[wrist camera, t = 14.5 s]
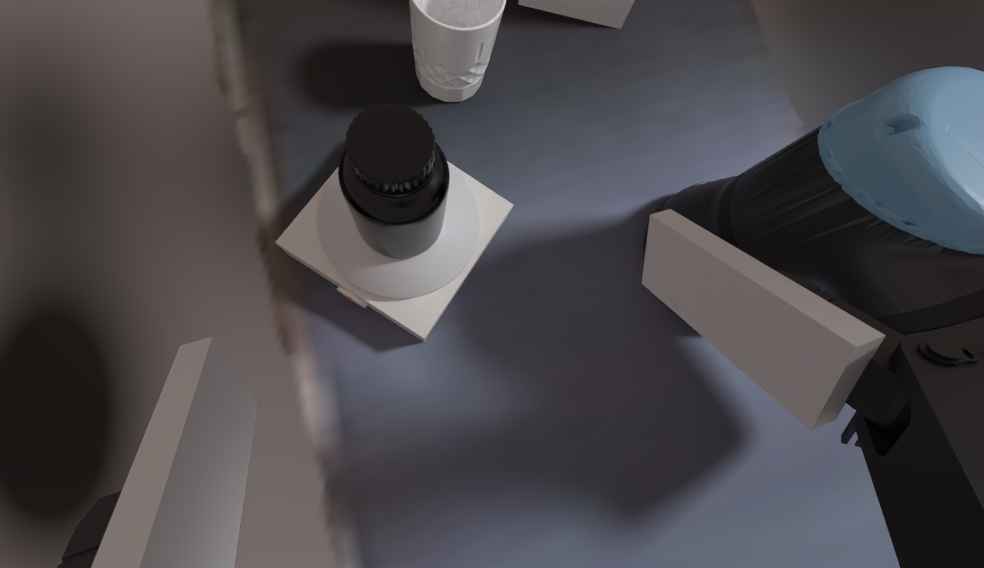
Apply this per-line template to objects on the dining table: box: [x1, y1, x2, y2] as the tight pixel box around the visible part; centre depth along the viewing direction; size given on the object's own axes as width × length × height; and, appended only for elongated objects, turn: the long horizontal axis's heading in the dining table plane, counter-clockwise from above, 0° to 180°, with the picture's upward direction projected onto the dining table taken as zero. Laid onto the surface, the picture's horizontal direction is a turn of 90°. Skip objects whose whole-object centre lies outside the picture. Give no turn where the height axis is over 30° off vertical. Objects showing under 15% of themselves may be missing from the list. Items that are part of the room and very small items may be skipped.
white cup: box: [409, 0, 506, 102], centre depth 38 cm, size 8×8×10 cm
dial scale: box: [275, 161, 513, 342], centre depth 36 cm, size 15×14×5 cm
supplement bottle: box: [338, 103, 450, 259], centre depth 28 cm, size 7×7×12 cm
